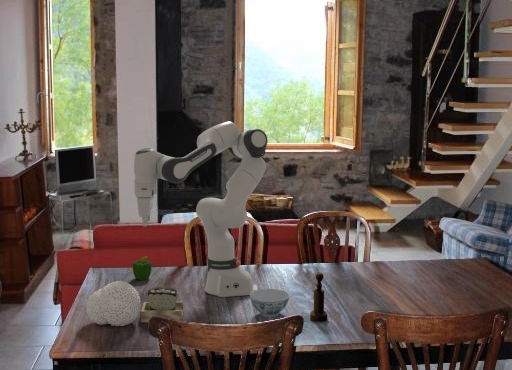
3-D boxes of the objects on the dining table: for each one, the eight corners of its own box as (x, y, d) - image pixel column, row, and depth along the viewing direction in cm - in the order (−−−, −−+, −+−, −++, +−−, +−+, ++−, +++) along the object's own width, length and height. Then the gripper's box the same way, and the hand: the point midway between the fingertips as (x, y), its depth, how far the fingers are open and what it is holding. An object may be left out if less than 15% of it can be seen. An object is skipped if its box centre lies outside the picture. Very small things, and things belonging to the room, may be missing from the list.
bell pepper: (133, 282, 302) (132, 260, 301) (132, 276, 310) (131, 255, 309) (152, 281, 304) (152, 259, 303) (151, 275, 312) (150, 254, 311)
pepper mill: (308, 316, 261) (309, 270, 258) (325, 315, 262) (326, 269, 259) (311, 322, 255) (312, 275, 252) (328, 321, 255) (329, 275, 252)
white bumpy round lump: (151, 293, 260) (126, 266, 251) (146, 329, 246) (119, 301, 237) (107, 311, 266) (81, 285, 257) (101, 348, 252) (73, 321, 243)
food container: (182, 312, 262) (182, 286, 260) (178, 317, 256) (178, 292, 254) (151, 310, 263) (150, 285, 262) (146, 316, 257) (145, 290, 256)
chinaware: (252, 307, 271) (252, 288, 270) (290, 308, 270) (290, 289, 269) (247, 320, 257) (247, 300, 255) (288, 322, 255) (288, 302, 254)
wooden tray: (183, 311, 265) (183, 301, 265) (181, 321, 255) (181, 310, 254) (143, 312, 264) (143, 302, 264) (141, 322, 254) (140, 311, 253)
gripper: (140, 185, 285) (141, 218, 287) (134, 193, 264) (135, 229, 267) (155, 185, 285) (156, 217, 287) (151, 193, 265) (152, 228, 267)
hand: (146, 223), depth 277 cm, fingers open, 8 cm apart
